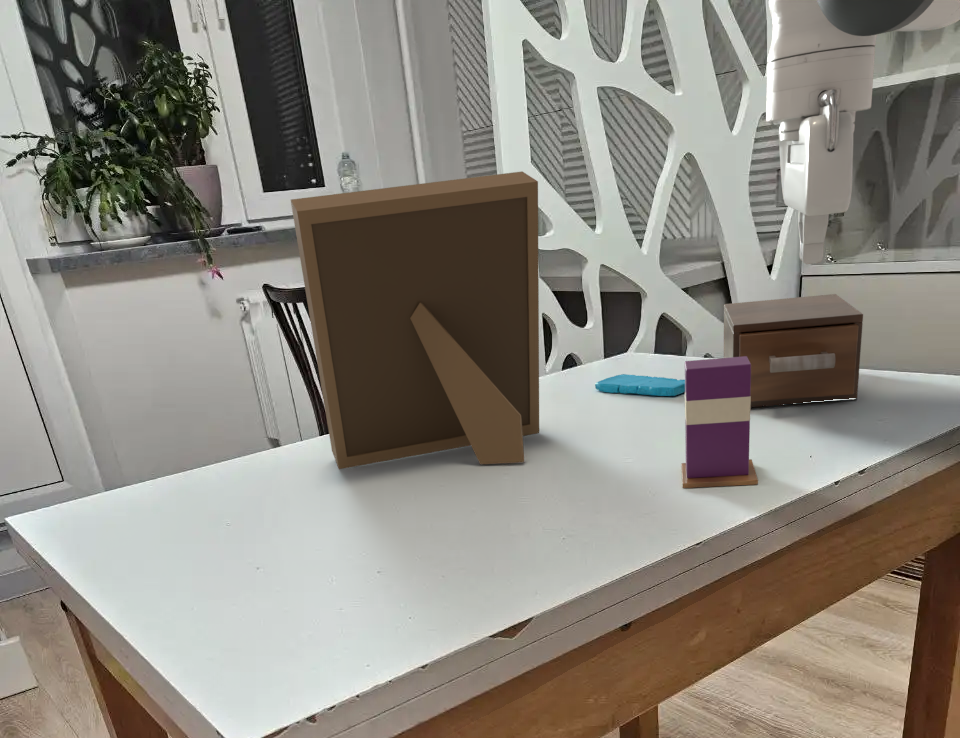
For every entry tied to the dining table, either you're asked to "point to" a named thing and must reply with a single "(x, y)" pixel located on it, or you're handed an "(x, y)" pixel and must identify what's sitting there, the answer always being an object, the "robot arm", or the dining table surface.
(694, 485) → the coaster
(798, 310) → the cabinet
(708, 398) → the snack carton
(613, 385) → the sponge
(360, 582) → the dining table surface
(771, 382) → the drawer
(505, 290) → the photo frame
